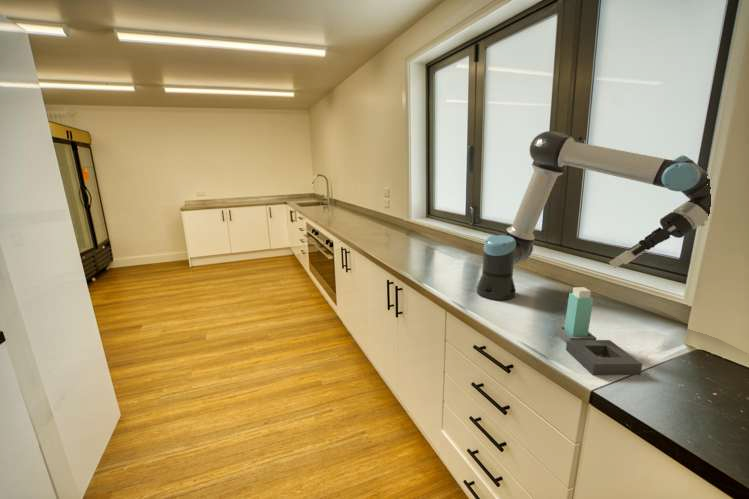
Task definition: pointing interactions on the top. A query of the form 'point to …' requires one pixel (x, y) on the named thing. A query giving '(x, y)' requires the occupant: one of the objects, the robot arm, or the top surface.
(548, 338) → the top surface
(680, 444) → the top surface
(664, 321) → the top surface
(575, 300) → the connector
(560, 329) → the grey square plate
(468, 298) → the top surface
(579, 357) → the port block
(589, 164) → the robot arm
